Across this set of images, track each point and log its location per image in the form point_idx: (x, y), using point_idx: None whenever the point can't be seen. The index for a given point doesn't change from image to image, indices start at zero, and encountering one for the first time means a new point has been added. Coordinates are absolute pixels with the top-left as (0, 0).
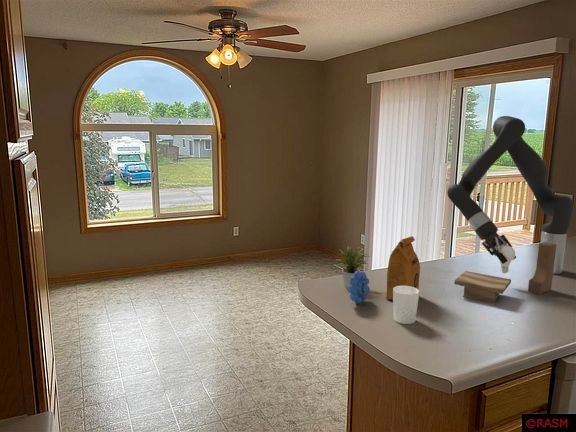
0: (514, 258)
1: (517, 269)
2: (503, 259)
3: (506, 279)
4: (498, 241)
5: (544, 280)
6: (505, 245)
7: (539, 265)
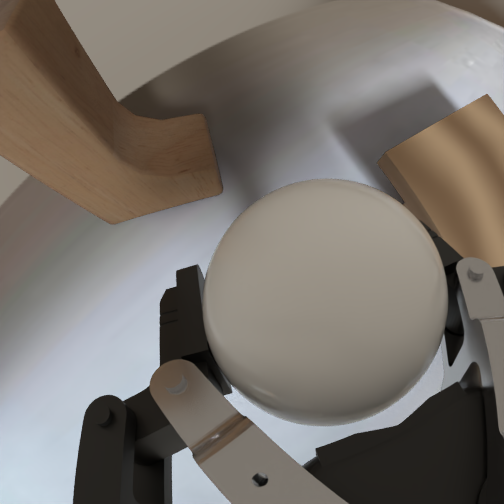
0: (201, 276)
1: (25, 437)
2: (421, 222)
3: (412, 160)
4: (423, 488)
5: (161, 120)
6: (382, 325)
7: (109, 129)
